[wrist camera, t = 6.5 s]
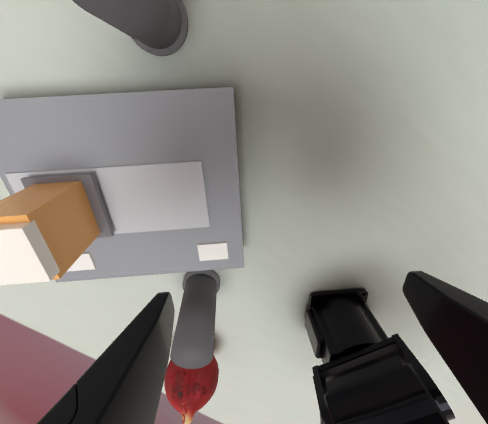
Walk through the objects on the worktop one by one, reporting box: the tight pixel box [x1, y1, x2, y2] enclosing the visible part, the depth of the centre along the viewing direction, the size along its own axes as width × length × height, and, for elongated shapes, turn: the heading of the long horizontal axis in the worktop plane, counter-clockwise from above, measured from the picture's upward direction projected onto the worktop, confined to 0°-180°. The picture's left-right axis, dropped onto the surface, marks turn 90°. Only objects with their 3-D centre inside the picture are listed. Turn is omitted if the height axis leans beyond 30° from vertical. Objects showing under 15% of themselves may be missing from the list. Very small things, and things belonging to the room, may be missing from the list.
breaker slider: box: [0, 173, 114, 285], centre depth 14 cm, size 4×5×6 cm
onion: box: [164, 355, 219, 424], centre depth 26 cm, size 6×6×8 cm
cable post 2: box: [170, 270, 220, 369], centre depth 22 cm, size 4×4×8 cm
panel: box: [0, 87, 244, 282], centre depth 19 cm, size 16×14×3 cm
